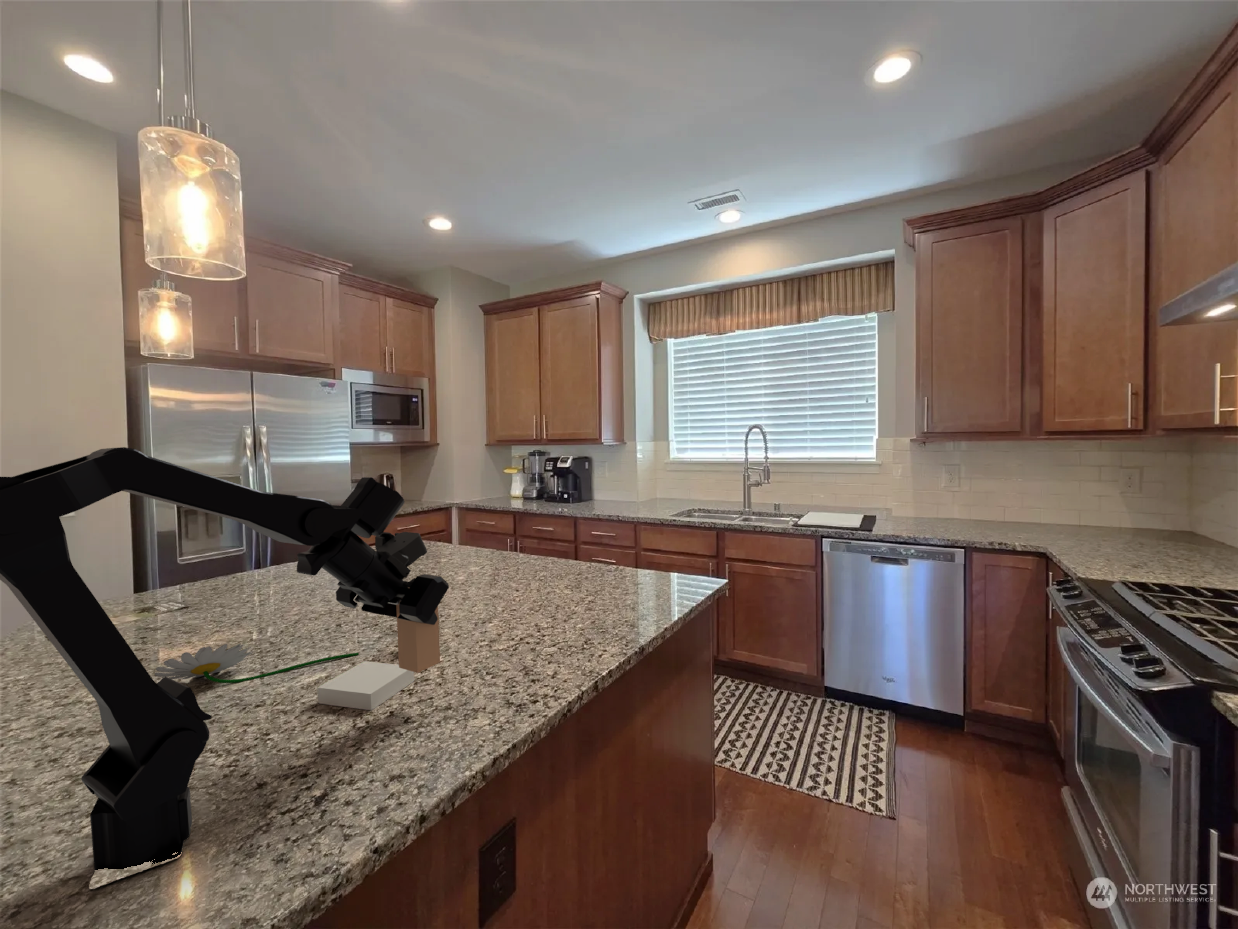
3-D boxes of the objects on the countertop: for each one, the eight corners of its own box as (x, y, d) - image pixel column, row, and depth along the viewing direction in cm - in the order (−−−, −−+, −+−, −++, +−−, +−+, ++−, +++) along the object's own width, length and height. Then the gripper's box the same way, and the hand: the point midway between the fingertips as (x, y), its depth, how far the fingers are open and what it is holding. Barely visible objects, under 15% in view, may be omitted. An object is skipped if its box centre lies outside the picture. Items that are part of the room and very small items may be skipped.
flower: (362, 629, 97) (150, 647, 82) (361, 659, 95) (143, 683, 79) (355, 648, 107) (163, 668, 91) (354, 677, 104) (157, 701, 89)
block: (417, 673, 77) (414, 592, 77) (399, 667, 79) (395, 589, 79) (440, 662, 81) (437, 585, 80) (421, 657, 83) (418, 582, 83)
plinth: (371, 710, 79) (370, 694, 78) (318, 703, 81) (317, 687, 81) (414, 680, 88) (413, 666, 88) (365, 675, 91) (364, 661, 91)
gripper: (435, 520, 71) (494, 580, 81) (351, 514, 80) (413, 569, 90) (387, 592, 65) (458, 648, 75) (301, 576, 74) (375, 629, 84)
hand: (425, 619), depth 81 cm, fingers closed on block, 4 cm apart
